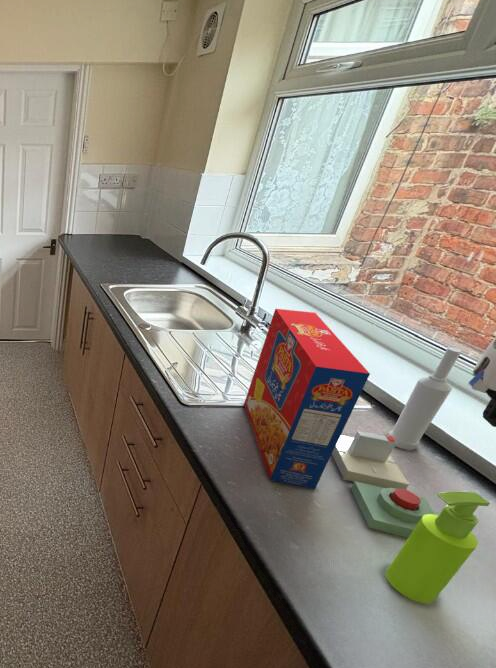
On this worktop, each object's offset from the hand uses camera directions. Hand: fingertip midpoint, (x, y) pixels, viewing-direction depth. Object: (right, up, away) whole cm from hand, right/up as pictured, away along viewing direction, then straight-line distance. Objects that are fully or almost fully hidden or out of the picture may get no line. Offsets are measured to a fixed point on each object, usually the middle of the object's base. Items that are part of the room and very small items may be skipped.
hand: (494, 422), depth 70 cm
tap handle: (-4, -11, +20) cm, 23 cm away
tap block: (-4, -14, +21) cm, 25 cm away
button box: (-8, -20, +9) cm, 23 cm away
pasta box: (-18, -11, +28) cm, 35 cm away
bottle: (+11, -11, +27) cm, 31 cm away
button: (-8, -17, +7) cm, 20 cm away
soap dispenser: (-18, -26, -3) cm, 32 cm away
